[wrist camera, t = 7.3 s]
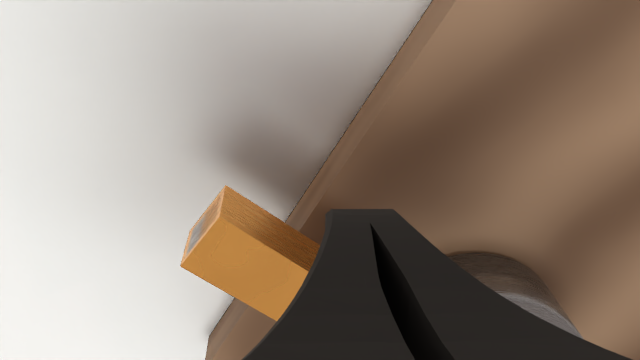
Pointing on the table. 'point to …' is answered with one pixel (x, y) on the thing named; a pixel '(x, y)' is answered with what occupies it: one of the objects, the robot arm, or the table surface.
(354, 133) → the bench block
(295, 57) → the table surface
